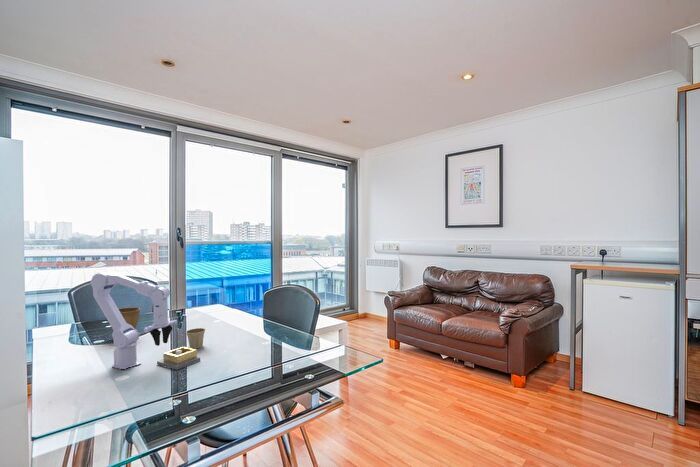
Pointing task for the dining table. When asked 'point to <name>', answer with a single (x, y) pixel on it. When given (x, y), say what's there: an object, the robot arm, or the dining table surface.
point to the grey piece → (178, 366)
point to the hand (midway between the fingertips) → (161, 344)
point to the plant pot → (130, 315)
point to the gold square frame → (177, 359)
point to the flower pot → (195, 337)
